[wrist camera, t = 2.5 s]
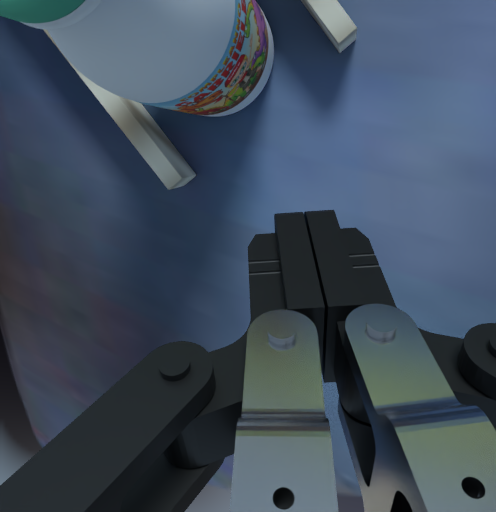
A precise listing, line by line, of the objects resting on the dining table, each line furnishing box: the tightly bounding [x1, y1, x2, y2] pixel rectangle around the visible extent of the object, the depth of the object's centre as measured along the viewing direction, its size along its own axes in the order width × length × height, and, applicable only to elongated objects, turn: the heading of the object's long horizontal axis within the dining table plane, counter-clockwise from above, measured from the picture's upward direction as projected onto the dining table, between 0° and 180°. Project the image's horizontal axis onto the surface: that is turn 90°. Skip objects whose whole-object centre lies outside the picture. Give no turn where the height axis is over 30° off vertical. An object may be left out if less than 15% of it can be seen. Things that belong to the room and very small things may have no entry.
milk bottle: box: [0, 0, 274, 117], centre depth 21 cm, size 8×8×20 cm
